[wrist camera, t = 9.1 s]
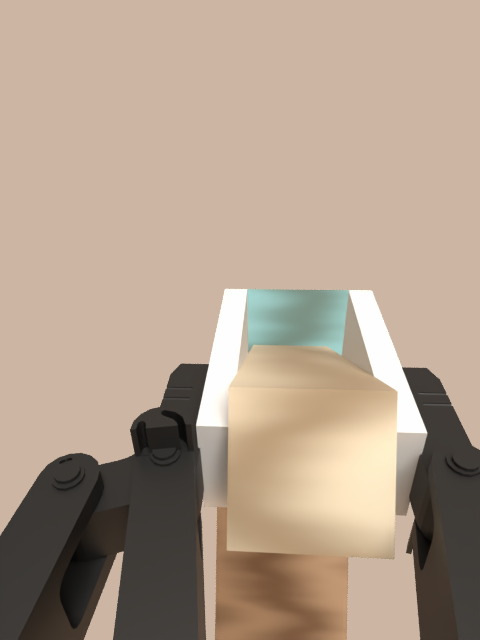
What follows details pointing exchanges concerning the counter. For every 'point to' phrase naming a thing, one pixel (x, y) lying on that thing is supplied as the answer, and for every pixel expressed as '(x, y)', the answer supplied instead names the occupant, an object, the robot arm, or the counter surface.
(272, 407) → the mallet
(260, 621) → the stand
